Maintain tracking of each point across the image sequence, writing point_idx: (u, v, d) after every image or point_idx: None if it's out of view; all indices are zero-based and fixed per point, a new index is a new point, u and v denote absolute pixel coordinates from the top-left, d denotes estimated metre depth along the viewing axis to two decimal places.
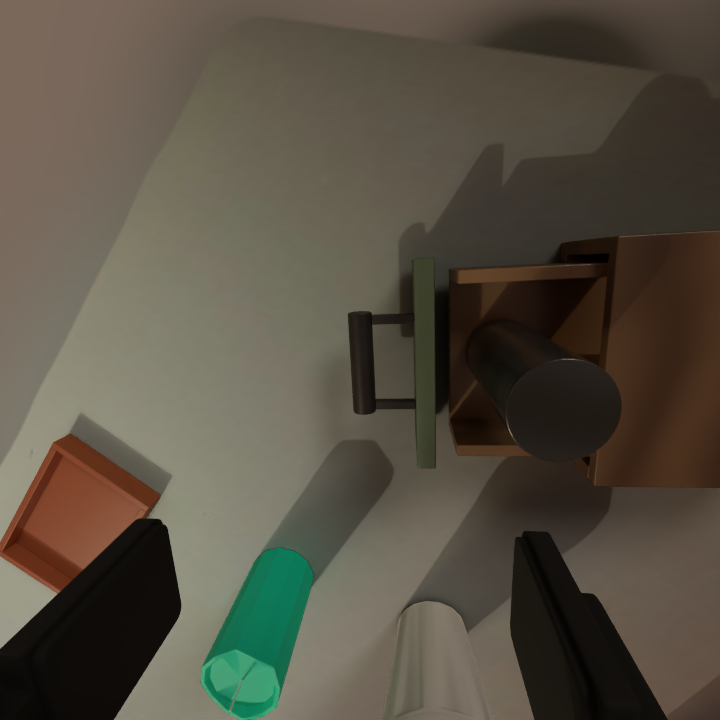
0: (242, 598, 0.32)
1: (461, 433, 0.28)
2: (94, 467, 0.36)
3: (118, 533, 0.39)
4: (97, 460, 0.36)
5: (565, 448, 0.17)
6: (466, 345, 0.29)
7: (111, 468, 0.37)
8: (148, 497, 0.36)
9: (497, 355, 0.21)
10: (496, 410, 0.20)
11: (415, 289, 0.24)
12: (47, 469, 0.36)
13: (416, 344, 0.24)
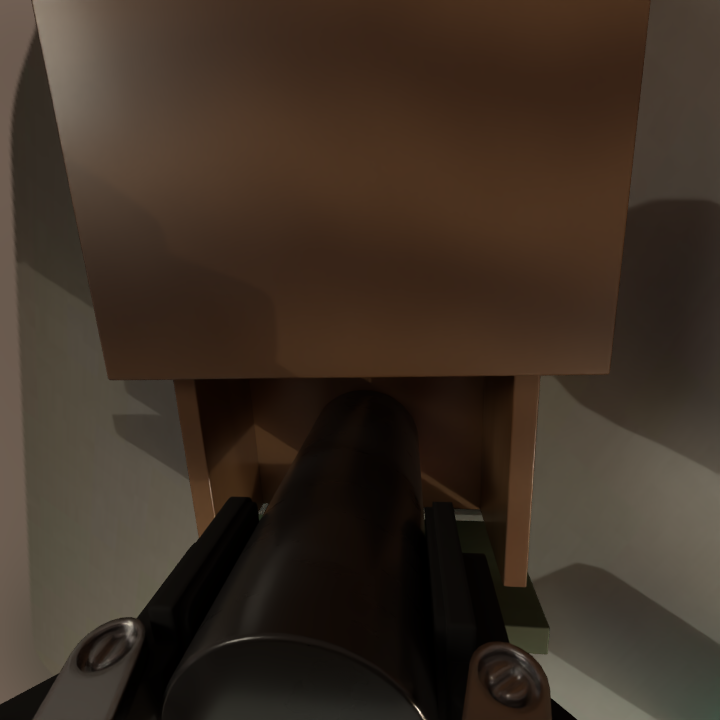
0: None
1: (492, 539, 0.16)
2: None
3: None
4: None
5: None
6: None
7: None
8: None
9: None
10: None
11: None
12: None
13: None
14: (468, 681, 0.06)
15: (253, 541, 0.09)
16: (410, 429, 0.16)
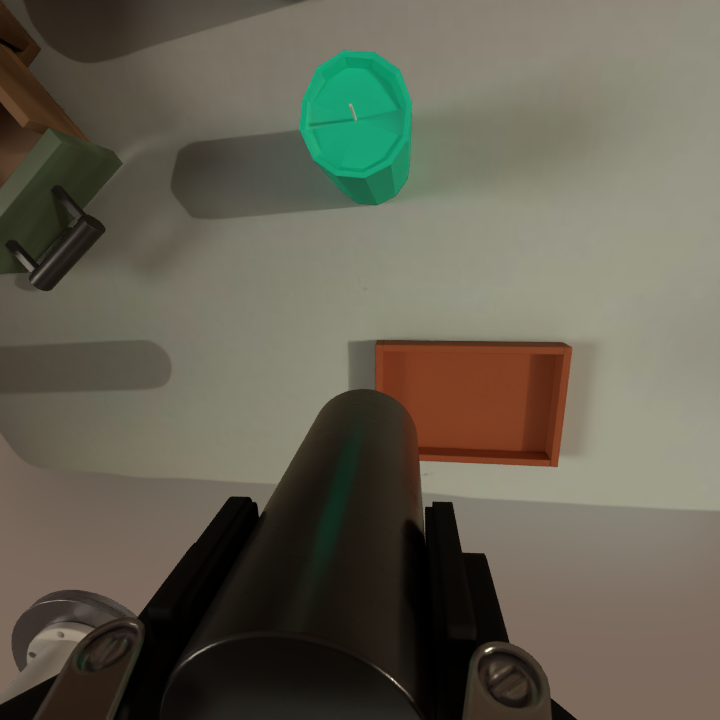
0: (348, 190, 0.26)
1: None
2: None
3: (450, 358, 0.33)
4: None
5: None
6: None
7: None
8: None
9: None
10: None
11: None
12: None
13: None
14: (468, 681, 0.06)
15: (252, 539, 0.09)
16: (409, 428, 0.16)
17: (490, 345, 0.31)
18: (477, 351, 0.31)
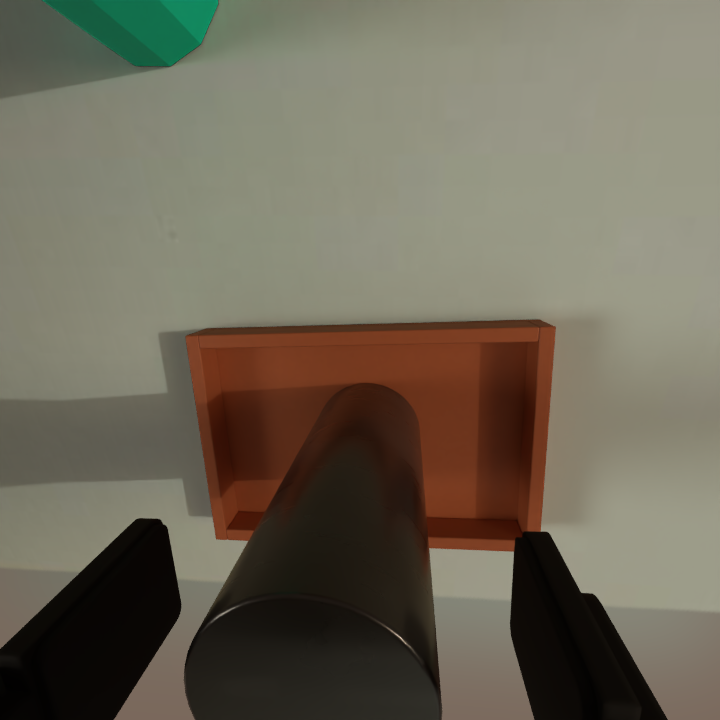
0: None
1: None
2: None
3: (335, 356, 0.18)
4: None
5: (402, 705, 0.07)
6: None
7: None
8: None
9: None
10: None
11: None
12: None
13: None
14: None
15: (266, 519, 0.10)
16: (412, 420, 0.17)
17: (397, 329, 0.16)
18: (372, 341, 0.16)
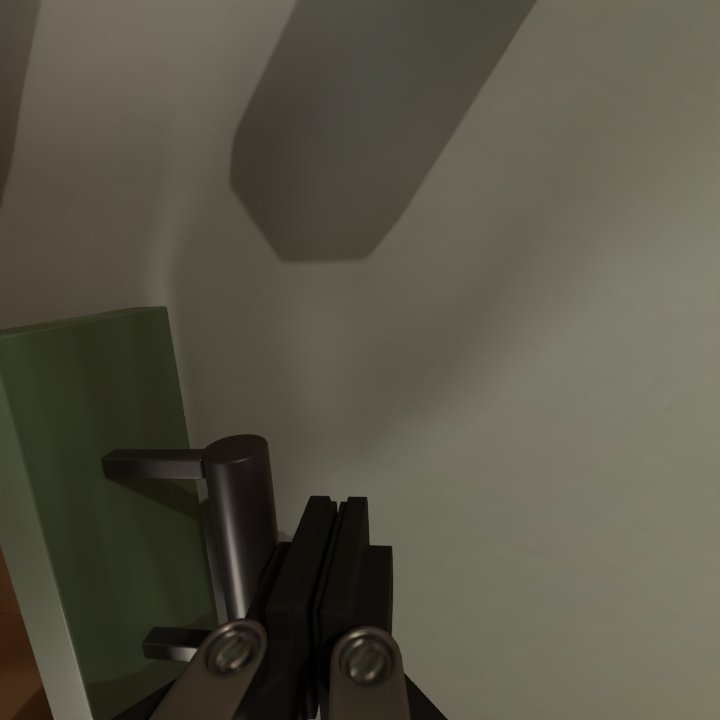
0: None
1: None
2: None
3: None
4: None
5: None
6: None
7: None
8: None
9: None
10: None
11: None
12: None
13: (81, 680, 0.10)
14: (331, 677, 0.06)
15: None
16: None
17: None
18: None
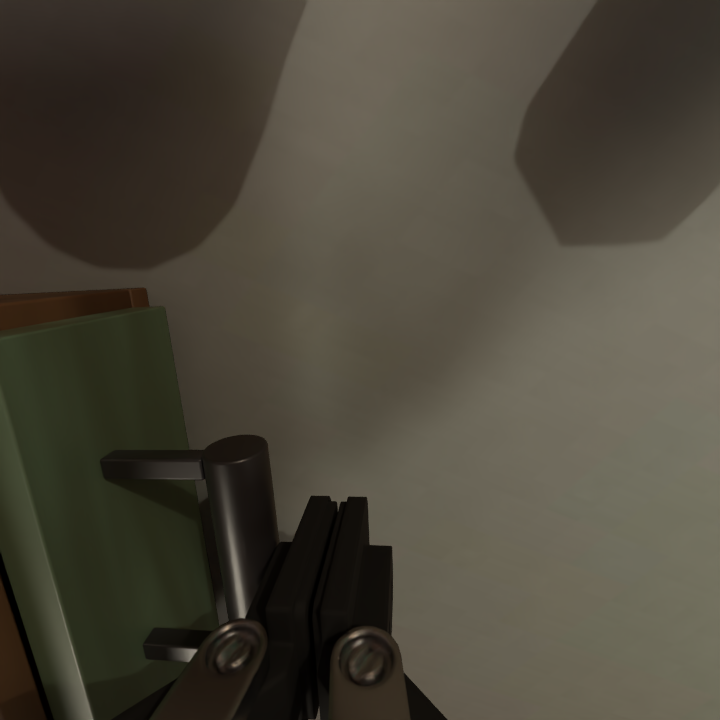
0: None
1: None
2: None
3: None
4: None
5: None
6: None
7: None
8: None
9: None
10: None
11: None
12: None
13: (81, 682, 0.10)
14: (331, 677, 0.06)
15: None
16: None
17: None
18: None
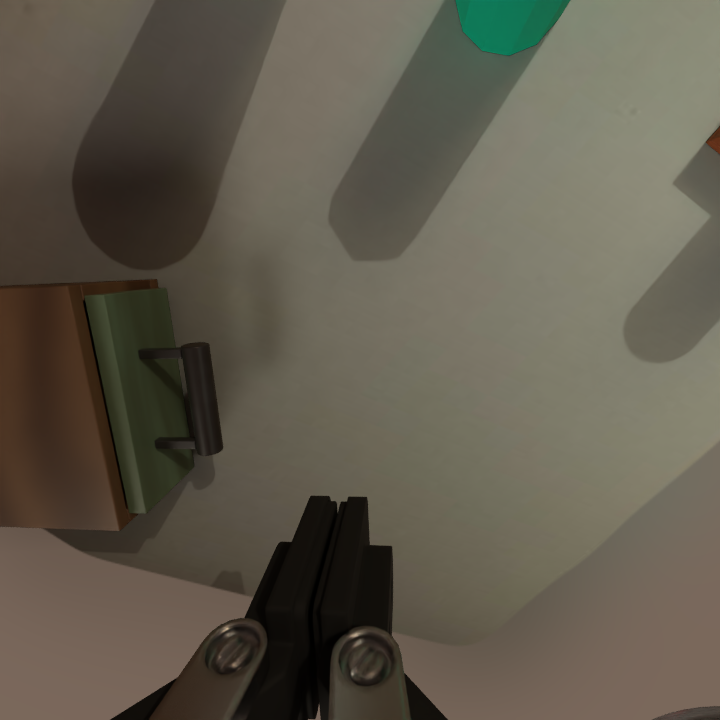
0: None
1: None
2: None
3: None
4: None
5: None
6: None
7: None
8: None
9: None
10: None
11: (140, 488, 0.24)
12: None
13: (130, 438, 0.24)
14: (331, 677, 0.06)
15: None
16: None
17: None
18: None
